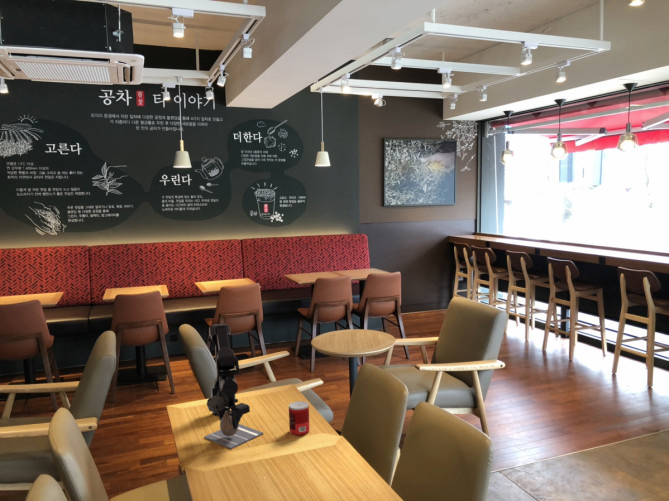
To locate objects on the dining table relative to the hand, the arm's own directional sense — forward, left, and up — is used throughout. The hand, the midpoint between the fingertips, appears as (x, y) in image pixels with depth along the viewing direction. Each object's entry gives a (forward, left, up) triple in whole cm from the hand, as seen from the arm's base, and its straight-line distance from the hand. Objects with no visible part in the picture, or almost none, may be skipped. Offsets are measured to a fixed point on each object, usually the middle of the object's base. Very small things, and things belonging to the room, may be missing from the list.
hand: (229, 427), depth 201 cm
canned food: (+17, +21, -5) cm, 27 cm away
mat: (-1, +3, -5) cm, 6 cm away
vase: (0, 0, -3) cm, 3 cm away
